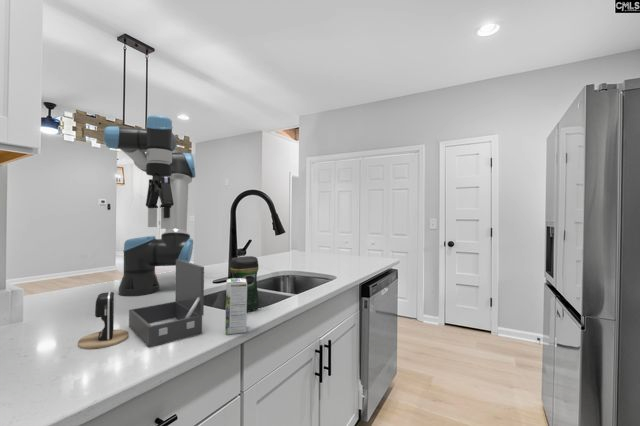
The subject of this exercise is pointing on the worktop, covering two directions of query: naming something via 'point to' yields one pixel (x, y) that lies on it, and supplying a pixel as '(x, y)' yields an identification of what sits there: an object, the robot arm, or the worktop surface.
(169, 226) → the robot arm
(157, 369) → the worktop surface
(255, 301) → the coffee jar
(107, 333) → the battery charger
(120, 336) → the disc
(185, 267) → the case
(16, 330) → the worktop surface
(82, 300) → the worktop surface
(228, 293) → the syrup box
